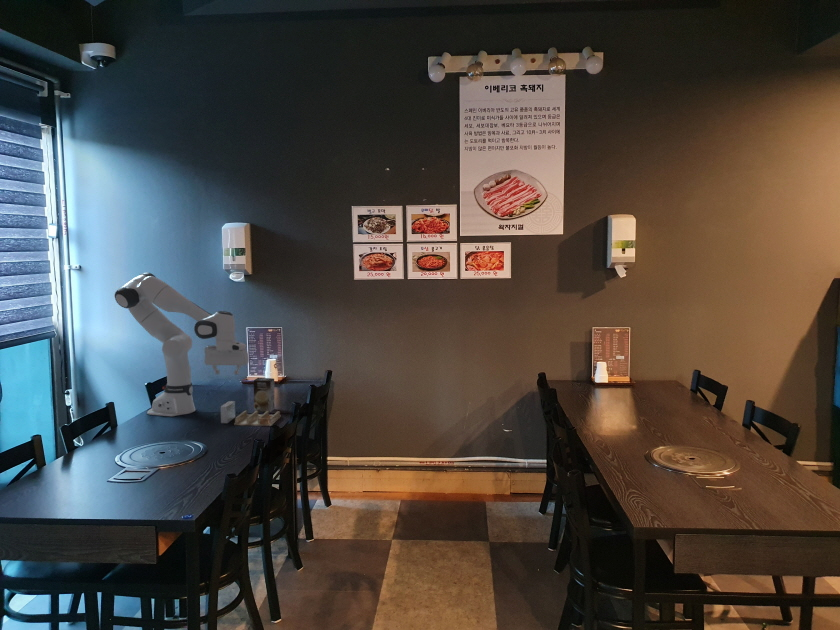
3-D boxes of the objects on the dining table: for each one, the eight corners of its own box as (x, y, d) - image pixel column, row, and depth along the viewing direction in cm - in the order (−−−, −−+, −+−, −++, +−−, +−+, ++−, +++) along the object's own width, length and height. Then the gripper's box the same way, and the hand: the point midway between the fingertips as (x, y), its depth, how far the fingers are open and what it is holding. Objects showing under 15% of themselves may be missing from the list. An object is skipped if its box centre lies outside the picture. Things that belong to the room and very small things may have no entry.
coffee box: (253, 411, 298) (252, 380, 297) (258, 408, 305) (257, 377, 303) (271, 412, 298) (270, 380, 296) (275, 408, 304) (274, 378, 302)
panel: (221, 423, 279) (220, 406, 278) (229, 417, 289) (228, 401, 288) (227, 423, 279) (226, 406, 278) (235, 417, 288) (234, 401, 288)
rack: (234, 425, 276) (234, 418, 275) (245, 415, 291) (245, 409, 290) (270, 425, 275) (270, 419, 274) (280, 416, 290) (280, 410, 289)
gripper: (201, 346, 277) (202, 375, 279) (244, 346, 276) (245, 376, 277) (207, 344, 283) (208, 372, 285) (249, 344, 282) (250, 373, 284)
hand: (227, 374), depth 281 cm, fingers open, 8 cm apart
